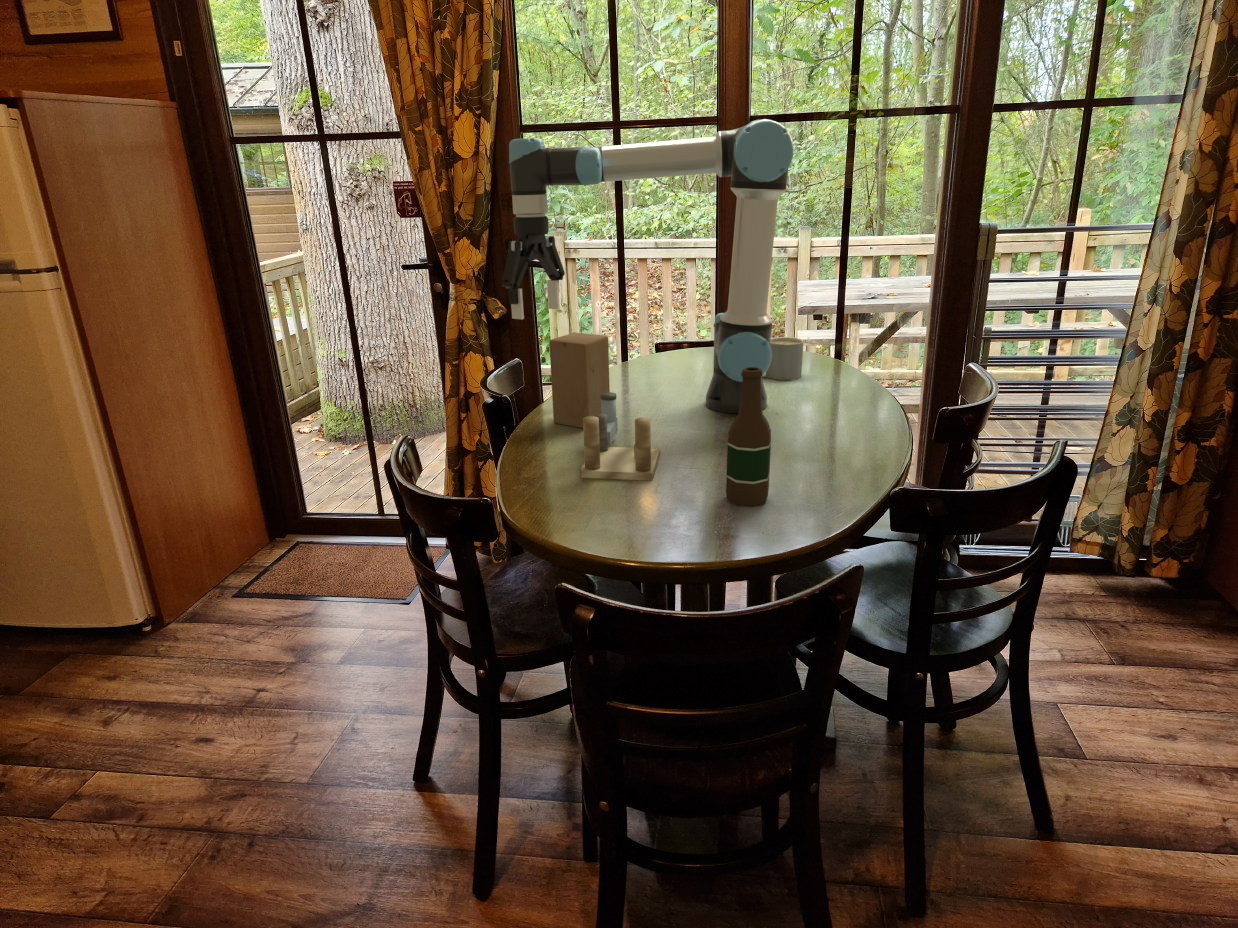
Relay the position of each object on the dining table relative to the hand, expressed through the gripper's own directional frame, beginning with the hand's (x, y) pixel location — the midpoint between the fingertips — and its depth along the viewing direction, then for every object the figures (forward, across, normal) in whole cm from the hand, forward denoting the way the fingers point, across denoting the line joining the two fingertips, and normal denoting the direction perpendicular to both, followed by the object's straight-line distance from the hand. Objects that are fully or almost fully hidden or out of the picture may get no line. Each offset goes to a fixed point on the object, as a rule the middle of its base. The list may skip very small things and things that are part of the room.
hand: (536, 313), depth 178 cm
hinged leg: (+24, +7, +23) cm, 34 cm away
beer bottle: (+26, +20, +60) cm, 68 cm away
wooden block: (+26, -5, +8) cm, 28 cm away
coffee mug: (+26, -65, +34) cm, 78 cm away
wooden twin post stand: (+26, +16, +32) cm, 44 cm away
